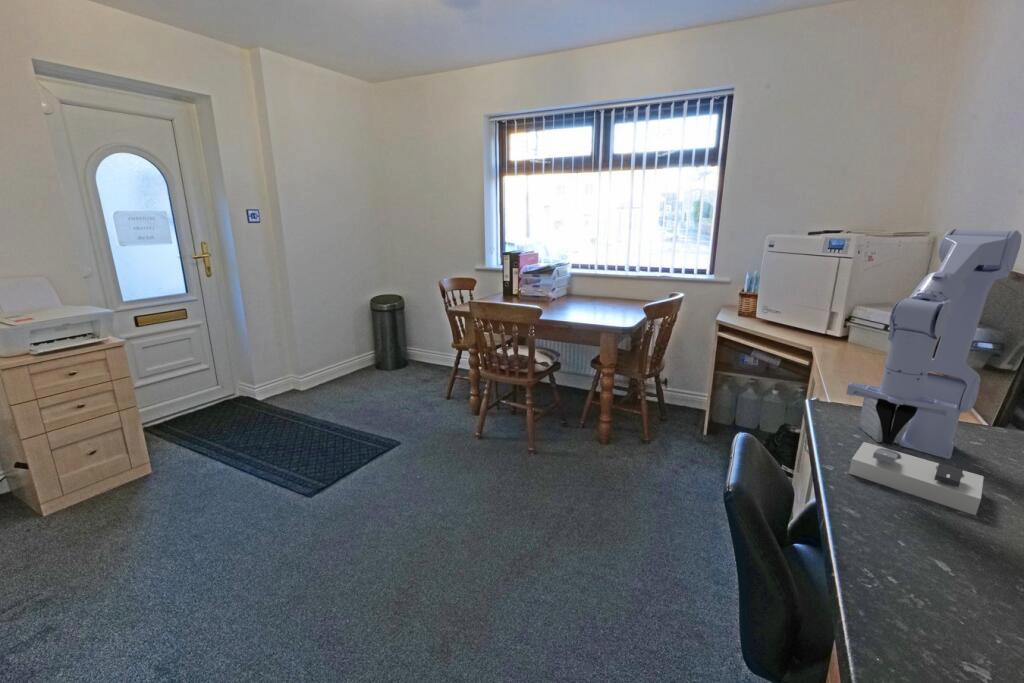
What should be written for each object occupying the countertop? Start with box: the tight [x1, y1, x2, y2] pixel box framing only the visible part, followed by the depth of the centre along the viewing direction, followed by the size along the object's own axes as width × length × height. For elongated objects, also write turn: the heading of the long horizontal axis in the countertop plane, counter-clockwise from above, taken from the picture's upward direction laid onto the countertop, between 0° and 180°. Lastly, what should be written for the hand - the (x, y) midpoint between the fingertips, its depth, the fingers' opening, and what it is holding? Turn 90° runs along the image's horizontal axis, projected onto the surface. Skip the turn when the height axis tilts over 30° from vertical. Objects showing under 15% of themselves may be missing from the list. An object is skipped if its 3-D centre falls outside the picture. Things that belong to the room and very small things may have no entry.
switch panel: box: [848, 441, 984, 516], centre depth 83 cm, size 10×17×3 cm, turn 44°
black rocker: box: [934, 462, 964, 487], centre depth 78 cm, size 4×3×1 cm
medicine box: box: [857, 397, 904, 445], centre depth 101 cm, size 8×4×9 cm, turn 168°
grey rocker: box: [873, 449, 898, 464], centre depth 84 cm, size 4×3×1 cm
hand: (887, 442), depth 82 cm, fingers closed
